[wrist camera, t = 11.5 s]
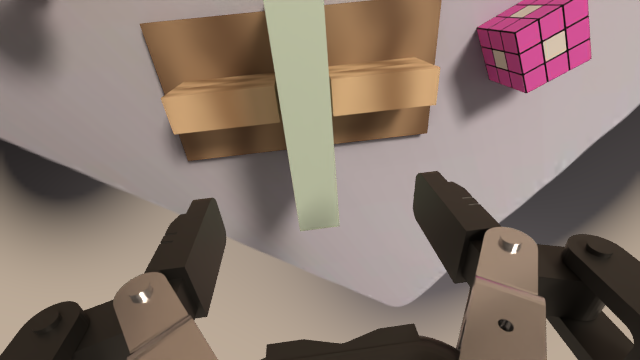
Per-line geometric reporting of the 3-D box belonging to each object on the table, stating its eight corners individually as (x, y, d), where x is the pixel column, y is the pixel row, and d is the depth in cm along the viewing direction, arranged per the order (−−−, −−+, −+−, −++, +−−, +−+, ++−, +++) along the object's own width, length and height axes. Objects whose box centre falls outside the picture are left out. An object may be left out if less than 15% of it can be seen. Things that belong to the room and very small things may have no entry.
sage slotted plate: (271, -13, 24) (259, -25, 14) (307, -16, 24) (321, -32, 14) (296, 159, 33) (300, 231, 22) (323, 156, 33) (339, 226, 22)
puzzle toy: (489, 80, 31) (526, 94, 26) (475, 27, 28) (514, 32, 24) (543, 50, 30) (592, 59, 25) (534, -8, 27) (588, -10, 22)
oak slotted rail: (190, 156, 32) (170, 188, 27) (144, 23, 26) (104, 28, 20) (423, 129, 33) (450, 155, 28) (437, -7, 27) (476, -10, 21)
